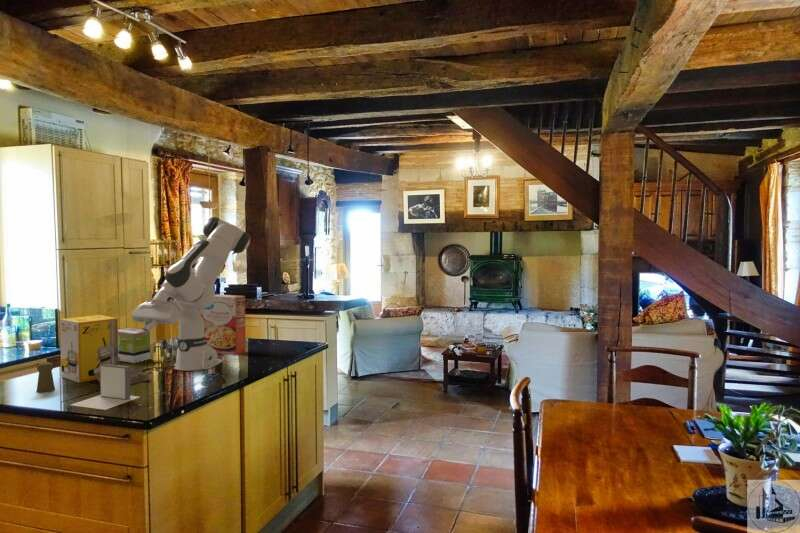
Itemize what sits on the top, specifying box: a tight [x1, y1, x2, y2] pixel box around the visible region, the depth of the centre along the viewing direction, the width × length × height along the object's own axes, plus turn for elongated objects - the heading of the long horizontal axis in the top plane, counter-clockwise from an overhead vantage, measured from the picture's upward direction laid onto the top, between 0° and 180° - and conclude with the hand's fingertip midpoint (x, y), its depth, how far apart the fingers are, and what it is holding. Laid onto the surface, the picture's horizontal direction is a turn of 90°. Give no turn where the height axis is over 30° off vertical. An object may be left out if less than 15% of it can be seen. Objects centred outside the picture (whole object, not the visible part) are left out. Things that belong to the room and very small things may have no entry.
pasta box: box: [198, 293, 246, 356], centre depth 279 cm, size 23×8×30 cm, turn 71°
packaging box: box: [59, 314, 120, 384], centre depth 227 cm, size 16×16×25 cm
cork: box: [36, 361, 56, 394], centre depth 205 cm, size 6×6×11 cm
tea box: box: [118, 327, 151, 364], centre depth 258 cm, size 15×10×15 cm
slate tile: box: [99, 364, 131, 400], centre depth 195 cm, size 2×12×12 cm, turn 73°
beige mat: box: [70, 394, 140, 411], centre depth 191 cm, size 16×16×1 cm
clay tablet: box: [96, 370, 150, 385], centre depth 220 cm, size 14×5×20 cm
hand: (145, 330), depth 209 cm, fingers closed
